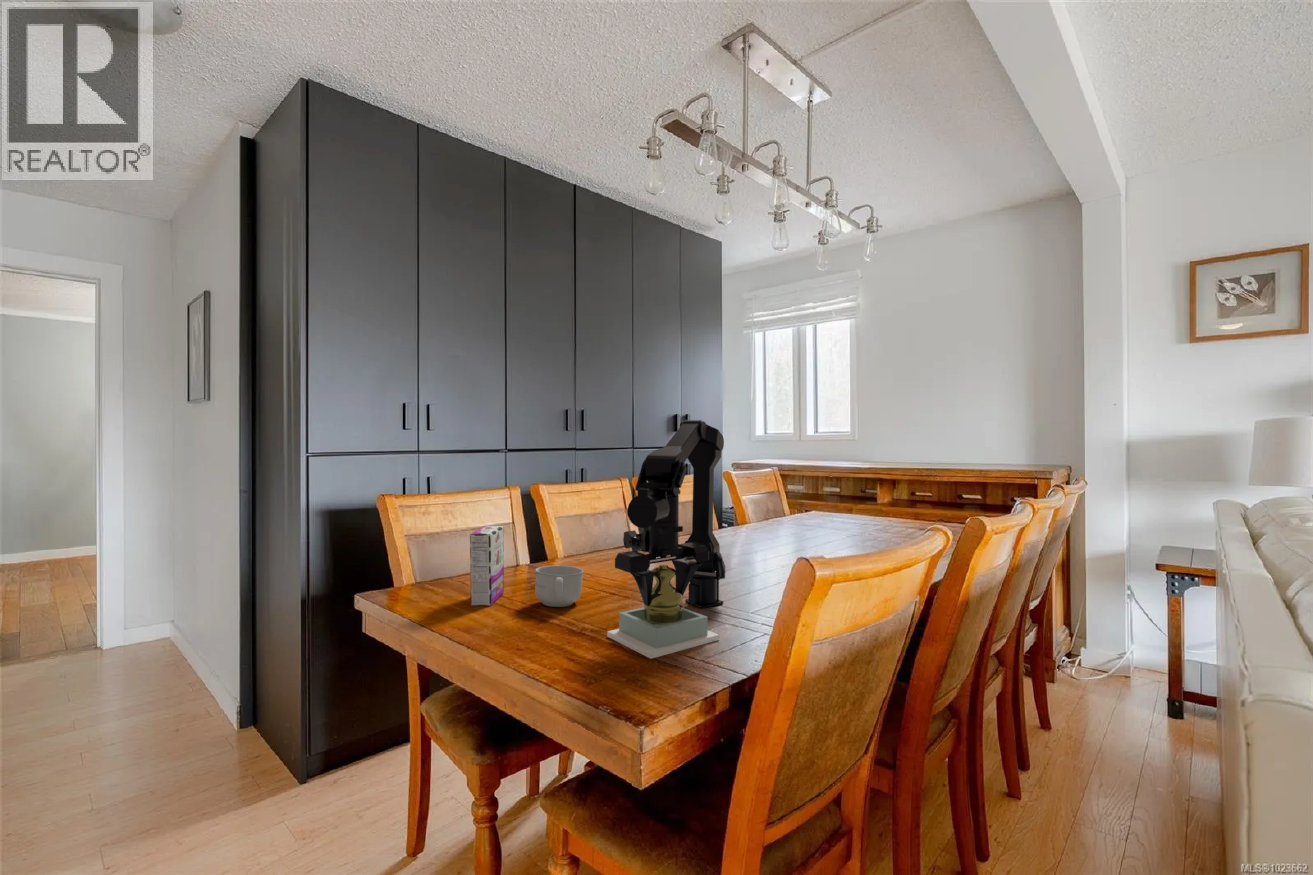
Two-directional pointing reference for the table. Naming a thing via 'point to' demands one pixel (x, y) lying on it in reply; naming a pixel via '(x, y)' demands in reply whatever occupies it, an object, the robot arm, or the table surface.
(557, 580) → the teacup
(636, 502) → the robot arm
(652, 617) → the gold rounded piece
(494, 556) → the candy bar box
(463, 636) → the table surface
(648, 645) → the grey green tray
